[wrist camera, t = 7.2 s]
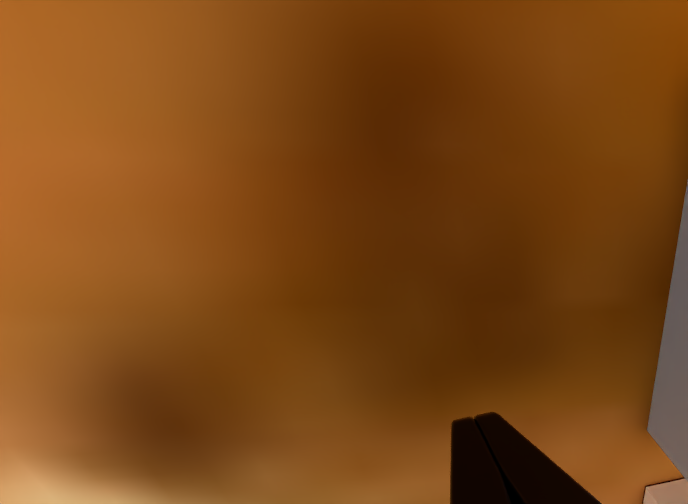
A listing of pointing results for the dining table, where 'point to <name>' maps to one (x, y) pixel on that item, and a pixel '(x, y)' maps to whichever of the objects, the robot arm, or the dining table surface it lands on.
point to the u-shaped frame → (667, 493)
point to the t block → (674, 363)
